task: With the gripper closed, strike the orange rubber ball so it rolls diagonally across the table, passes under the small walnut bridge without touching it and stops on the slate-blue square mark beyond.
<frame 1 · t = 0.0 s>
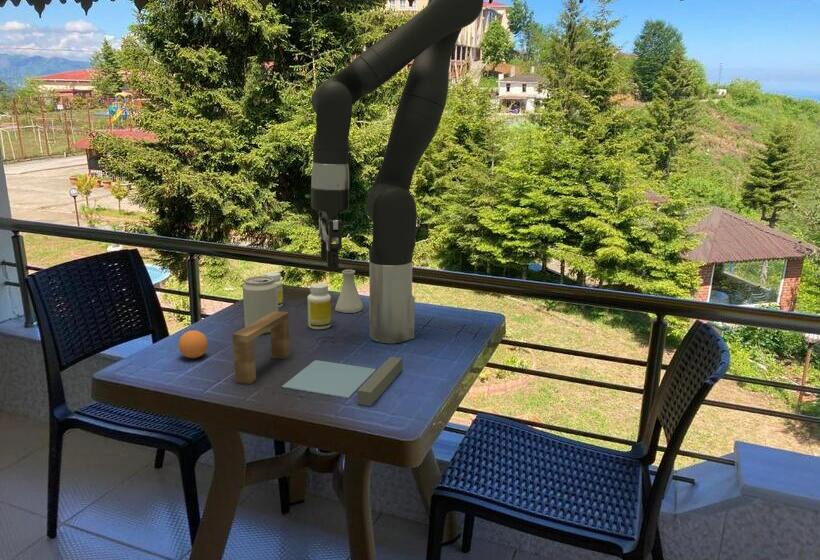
hand: (329, 264, 126), 17 cm above the table, tool pointing down, fingers open, 8 cm apart
can: (262, 330, 138), on the table
bridge: (264, 368, 116), on the table
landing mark: (330, 378, 112), on the table
supplement bottle: (319, 326, 140), on the table
ball: (193, 344, 121), on the table
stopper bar: (381, 386, 109), on the table
supplement bottle 2: (273, 306, 156), on the table
flask: (349, 310, 153), on the table
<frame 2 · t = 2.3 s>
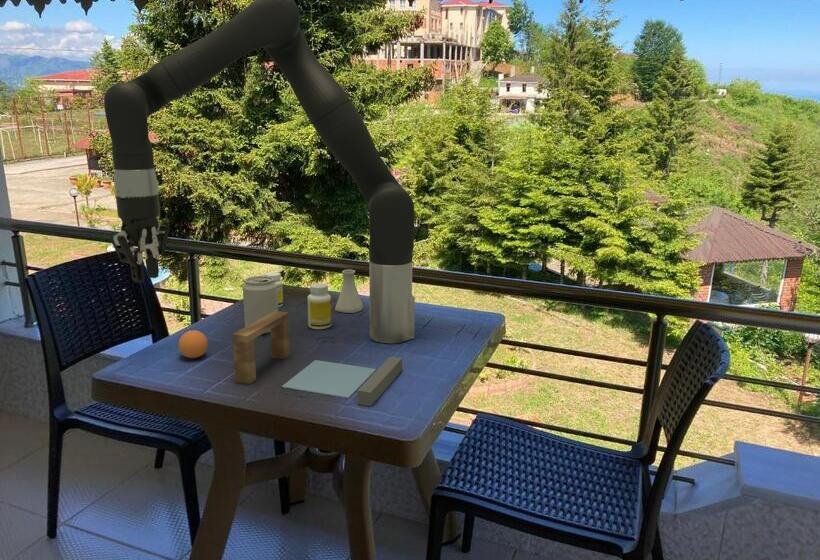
hand: (145, 279, 120), 15 cm above the table, tool pointing down, fingers open, 3 cm apart
nothing on the table moved.
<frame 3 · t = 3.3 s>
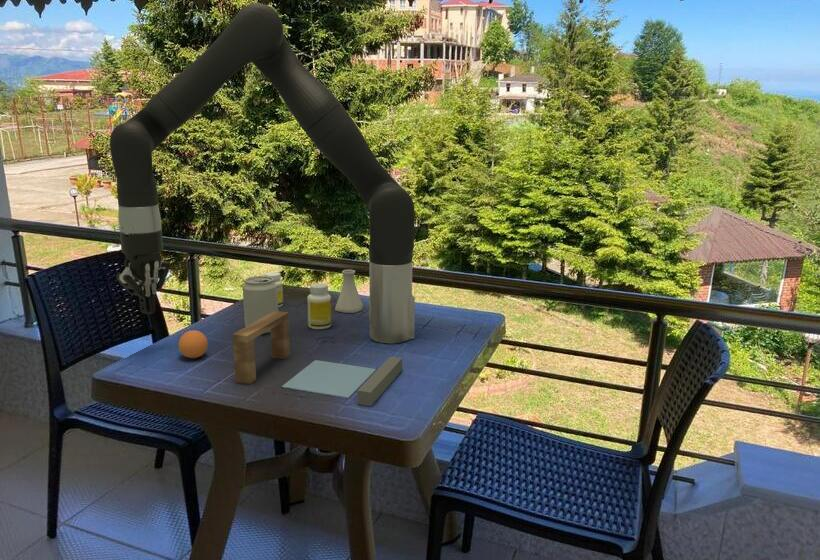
hand: (148, 313, 122), 8 cm above the table, tool pointing down, fingers closed
nothing on the table moved.
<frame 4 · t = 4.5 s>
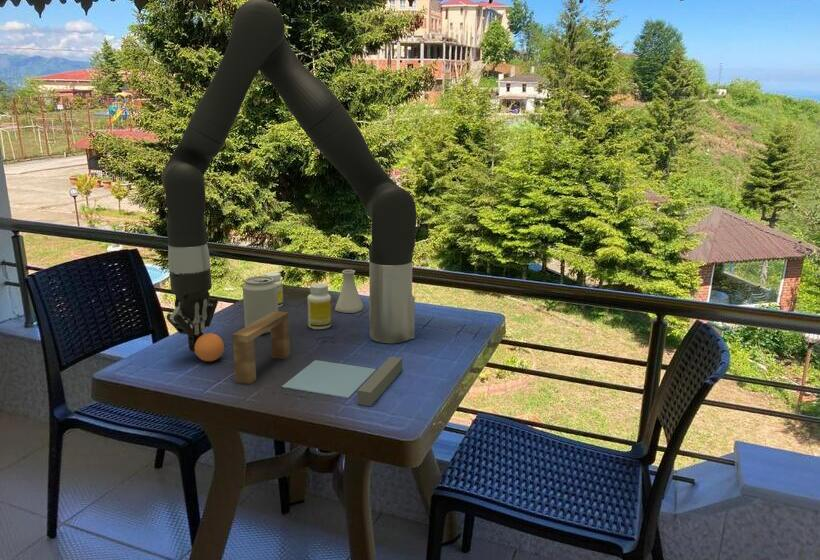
hand: (196, 350, 122), 1 cm above the table, tool pointing down, fingers closed
ball: (209, 347, 119), on the table
everything else where it was.
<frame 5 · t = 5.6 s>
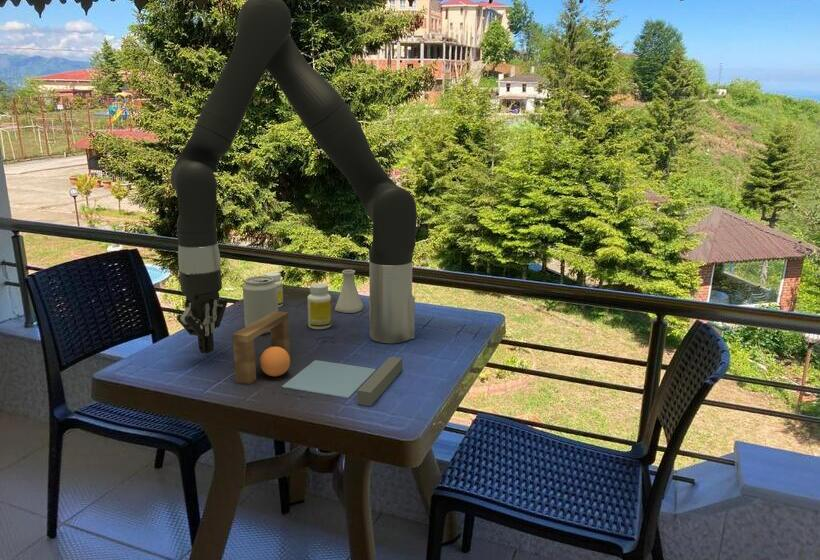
hand: (206, 352, 120), 2 cm above the table, tool pointing down, fingers closed
ball: (275, 361, 113), on the table
everything else where it was.
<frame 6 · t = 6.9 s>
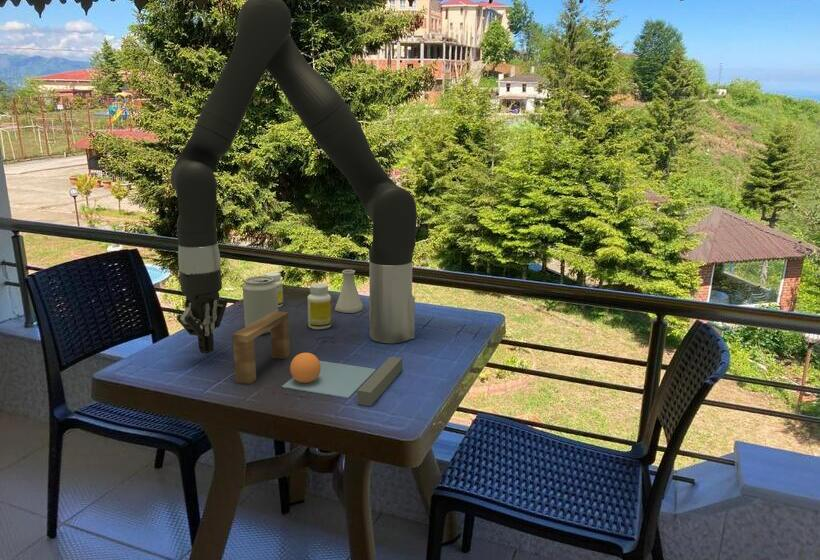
hand: (206, 352, 120), 2 cm above the table, tool pointing down, fingers closed
ball: (305, 367, 110), on the table
everything else where it was.
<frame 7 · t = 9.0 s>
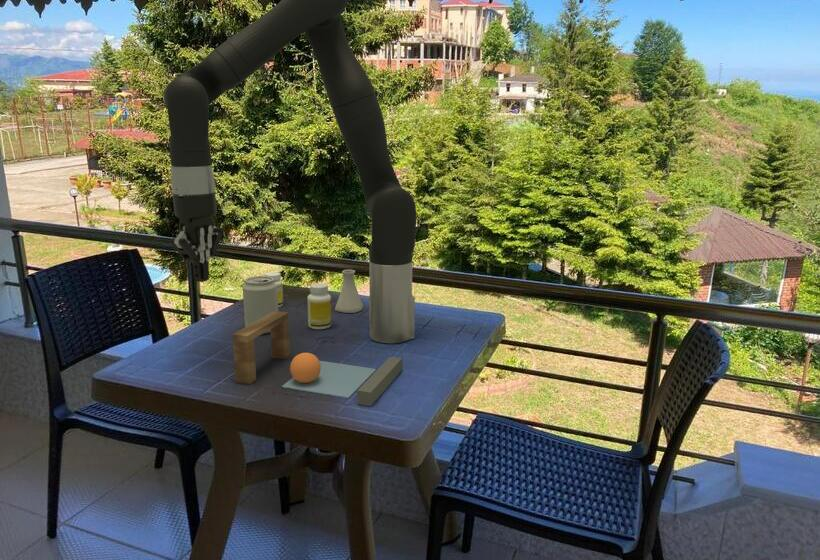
hand: (202, 280, 117), 16 cm above the table, tool pointing down, fingers closed
nothing on the table moved.
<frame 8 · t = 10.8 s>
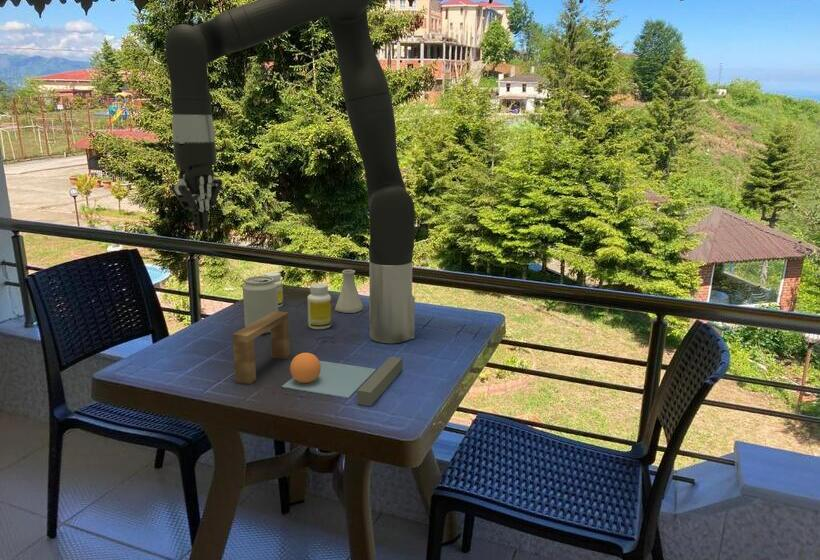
hand: (201, 230, 119), 25 cm above the table, tool pointing down, fingers closed
nothing on the table moved.
at the end: ball 4.6 cm from the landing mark (horizontally); ball never touched bridge; ball at rest at the end (0.0 cm/s) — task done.
